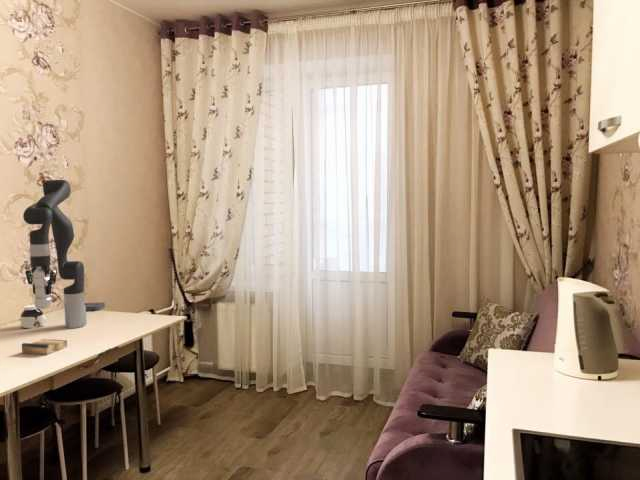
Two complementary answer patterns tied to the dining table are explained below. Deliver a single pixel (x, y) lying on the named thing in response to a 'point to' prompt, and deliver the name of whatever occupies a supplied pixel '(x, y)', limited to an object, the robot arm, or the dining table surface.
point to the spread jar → (32, 317)
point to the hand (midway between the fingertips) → (42, 294)
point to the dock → (43, 346)
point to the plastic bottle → (41, 290)
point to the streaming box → (94, 306)
